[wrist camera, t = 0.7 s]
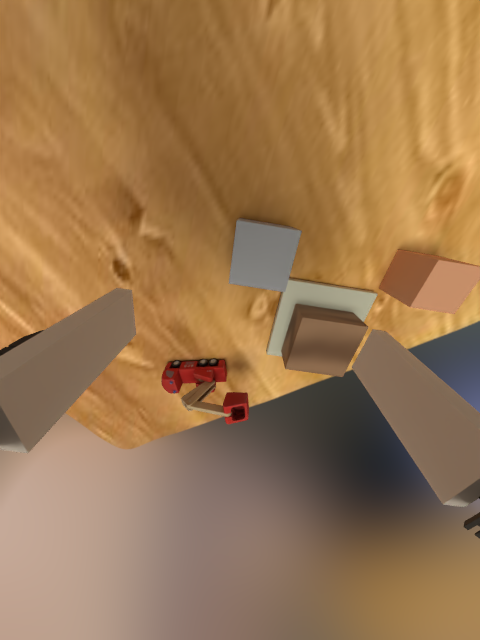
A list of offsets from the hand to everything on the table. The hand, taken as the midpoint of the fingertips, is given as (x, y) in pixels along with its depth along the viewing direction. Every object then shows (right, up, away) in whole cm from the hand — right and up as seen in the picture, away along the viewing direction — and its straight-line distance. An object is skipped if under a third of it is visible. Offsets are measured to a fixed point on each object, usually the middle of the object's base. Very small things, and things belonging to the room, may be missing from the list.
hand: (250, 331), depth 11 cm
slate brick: (+2, +9, +14) cm, 17 cm away
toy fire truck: (-6, -7, +23) cm, 25 cm away
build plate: (+10, 0, +18) cm, 21 cm away
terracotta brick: (+21, +7, +15) cm, 26 cm away
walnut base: (+10, -1, +18) cm, 21 cm away
